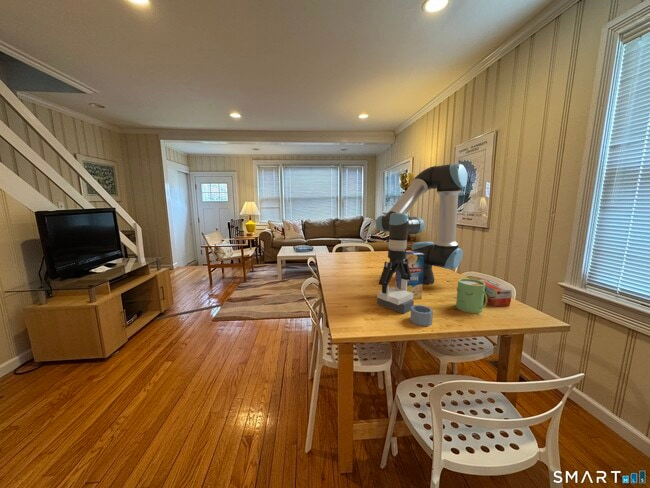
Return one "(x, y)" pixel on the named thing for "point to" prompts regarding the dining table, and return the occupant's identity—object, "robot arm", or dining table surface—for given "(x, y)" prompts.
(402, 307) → the blue-grey rectangular block
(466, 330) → the dining table surface
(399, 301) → the tile
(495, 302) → the medicine box
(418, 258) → the blue cereal box
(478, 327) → the dining table surface
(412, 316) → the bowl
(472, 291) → the mug
